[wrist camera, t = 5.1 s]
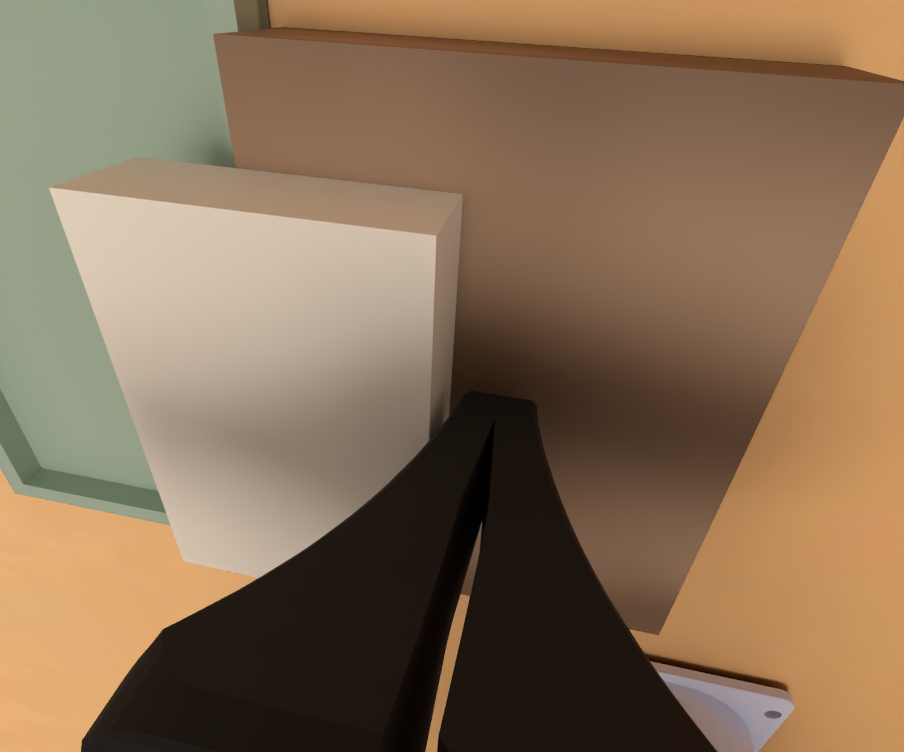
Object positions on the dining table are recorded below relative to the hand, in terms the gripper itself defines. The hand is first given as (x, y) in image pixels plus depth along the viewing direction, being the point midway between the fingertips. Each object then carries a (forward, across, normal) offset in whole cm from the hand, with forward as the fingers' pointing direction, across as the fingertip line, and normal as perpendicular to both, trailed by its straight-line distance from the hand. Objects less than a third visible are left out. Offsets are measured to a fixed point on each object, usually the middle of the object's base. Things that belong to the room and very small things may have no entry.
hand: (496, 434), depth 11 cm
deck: (+3, 0, 0) cm, 3 cm away
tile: (+1, +4, 0) cm, 4 cm away
